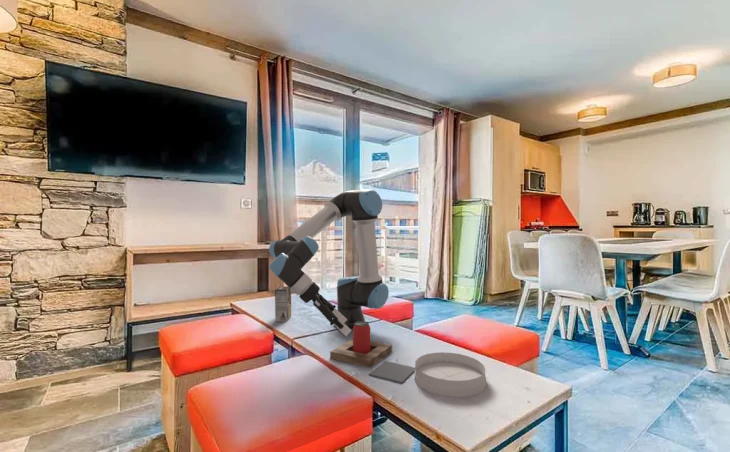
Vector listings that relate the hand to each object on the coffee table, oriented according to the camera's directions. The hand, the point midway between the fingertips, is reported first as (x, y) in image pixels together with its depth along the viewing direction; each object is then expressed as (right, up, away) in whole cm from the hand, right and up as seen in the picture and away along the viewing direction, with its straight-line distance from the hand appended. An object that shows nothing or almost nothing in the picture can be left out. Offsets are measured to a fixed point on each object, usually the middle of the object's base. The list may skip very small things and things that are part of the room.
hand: (346, 327), depth 132 cm
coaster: (+16, -11, -14) cm, 24 cm away
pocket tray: (+6, -11, +2) cm, 12 cm away
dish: (+34, -12, -19) cm, 41 cm away
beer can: (+6, -11, +2) cm, 13 cm away
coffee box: (-35, -10, +51) cm, 63 cm away
